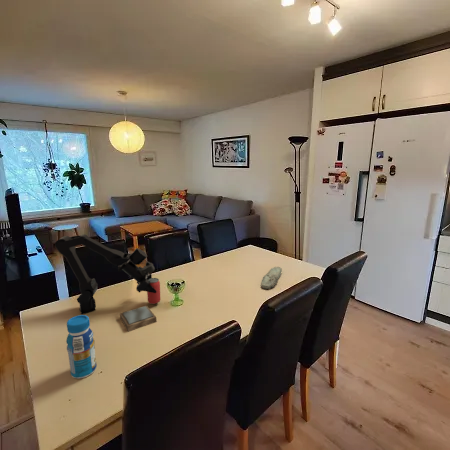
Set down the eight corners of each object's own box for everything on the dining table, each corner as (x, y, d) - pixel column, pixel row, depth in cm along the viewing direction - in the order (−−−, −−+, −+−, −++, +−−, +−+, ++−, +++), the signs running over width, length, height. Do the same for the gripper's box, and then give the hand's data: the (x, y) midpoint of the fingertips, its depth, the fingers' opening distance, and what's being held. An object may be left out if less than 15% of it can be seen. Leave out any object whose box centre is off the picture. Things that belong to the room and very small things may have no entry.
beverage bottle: (64, 375, 92) (57, 323, 88) (85, 359, 100) (79, 311, 96) (83, 382, 89) (76, 329, 85) (102, 365, 97) (97, 316, 93)
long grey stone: (284, 272, 188) (270, 271, 192) (284, 265, 187) (270, 264, 191) (274, 290, 156) (257, 288, 160) (274, 282, 155) (257, 280, 159)
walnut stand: (128, 331, 117) (127, 325, 116) (120, 318, 127) (119, 312, 127) (156, 321, 124) (156, 316, 124) (146, 310, 135) (146, 304, 134)
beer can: (149, 298, 143) (148, 277, 141) (161, 298, 144) (160, 277, 141) (146, 304, 137) (145, 282, 134) (159, 304, 137) (158, 282, 135)
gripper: (142, 266, 126) (166, 286, 130) (146, 253, 144) (167, 271, 148) (125, 282, 126) (150, 302, 130) (131, 268, 144) (153, 285, 148)
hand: (156, 289), depth 139 cm, fingers closed on beer can, 7 cm apart
